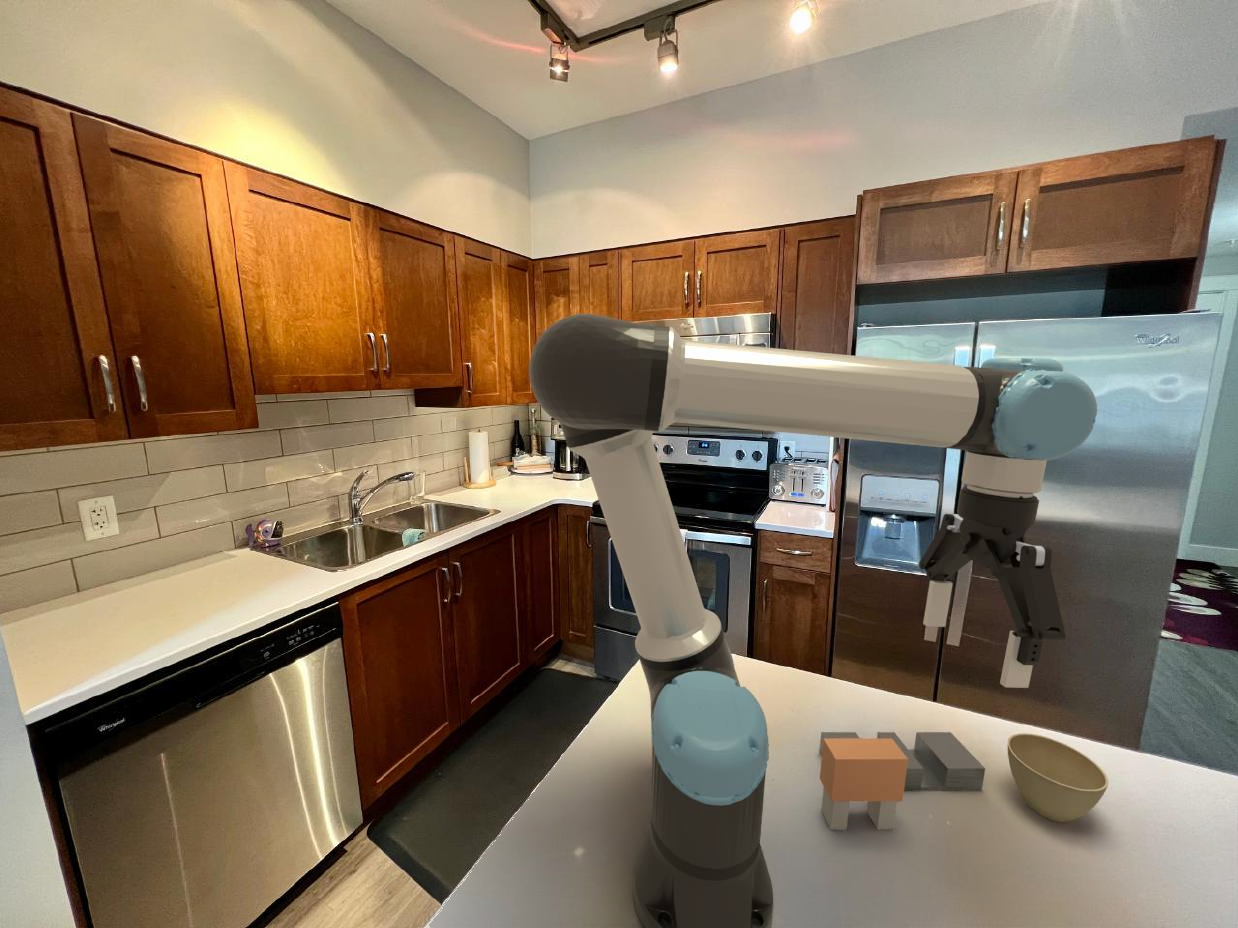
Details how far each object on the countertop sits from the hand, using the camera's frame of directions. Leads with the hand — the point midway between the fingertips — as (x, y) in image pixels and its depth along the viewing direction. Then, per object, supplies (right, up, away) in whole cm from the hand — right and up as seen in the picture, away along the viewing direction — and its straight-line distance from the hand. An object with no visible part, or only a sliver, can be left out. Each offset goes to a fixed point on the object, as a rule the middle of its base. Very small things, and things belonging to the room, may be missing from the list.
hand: (969, 652), depth 62 cm
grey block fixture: (-4, -21, +9) cm, 23 cm away
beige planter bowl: (+13, -22, +4) cm, 26 cm away
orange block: (-14, -22, +1) cm, 26 cm away
